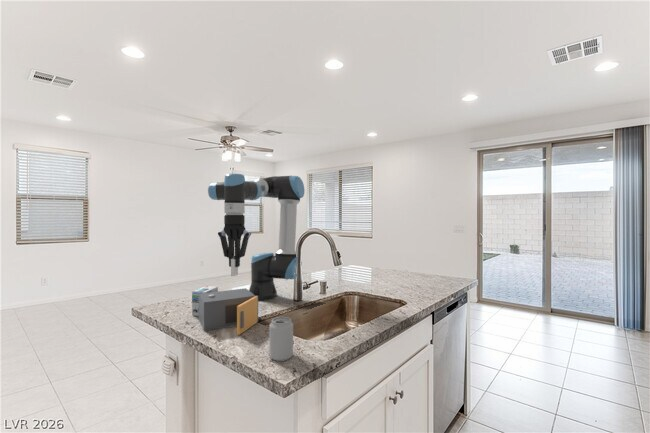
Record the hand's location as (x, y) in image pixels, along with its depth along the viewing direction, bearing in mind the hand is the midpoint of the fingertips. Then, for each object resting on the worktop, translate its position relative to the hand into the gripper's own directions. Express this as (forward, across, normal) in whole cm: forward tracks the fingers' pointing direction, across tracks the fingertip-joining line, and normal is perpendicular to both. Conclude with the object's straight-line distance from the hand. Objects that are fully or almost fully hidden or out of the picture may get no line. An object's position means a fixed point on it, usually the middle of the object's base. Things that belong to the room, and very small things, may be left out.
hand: (234, 275), depth 122 cm
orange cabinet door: (+21, +5, +2) cm, 21 cm away
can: (+21, +25, -18) cm, 38 cm away
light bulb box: (+21, -22, +16) cm, 35 cm away
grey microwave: (+21, -7, +8) cm, 24 cm away
